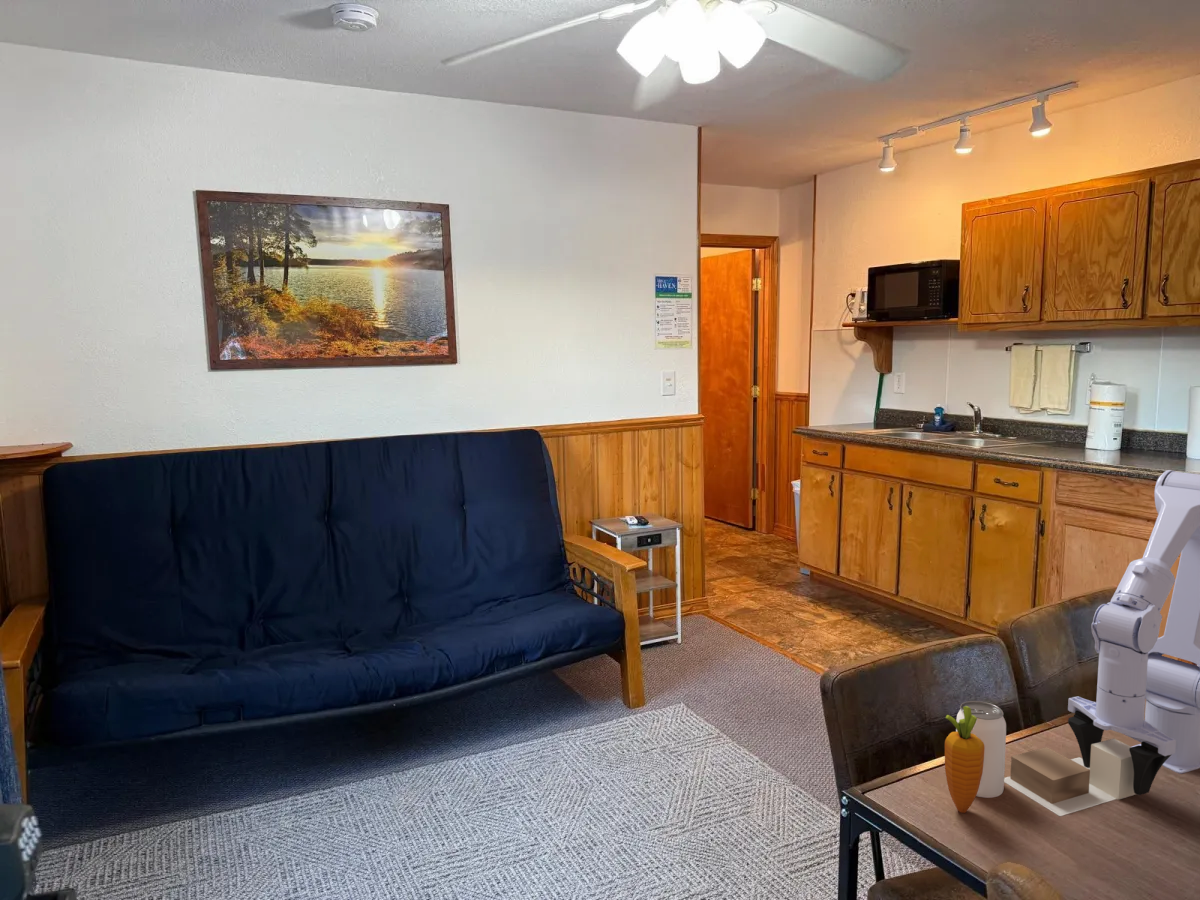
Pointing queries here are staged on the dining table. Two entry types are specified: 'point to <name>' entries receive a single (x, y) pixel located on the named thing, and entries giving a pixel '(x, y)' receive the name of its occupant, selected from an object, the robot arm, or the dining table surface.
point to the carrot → (963, 761)
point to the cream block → (1112, 768)
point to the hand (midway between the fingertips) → (1115, 778)
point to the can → (989, 745)
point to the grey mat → (1070, 804)
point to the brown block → (1050, 775)
